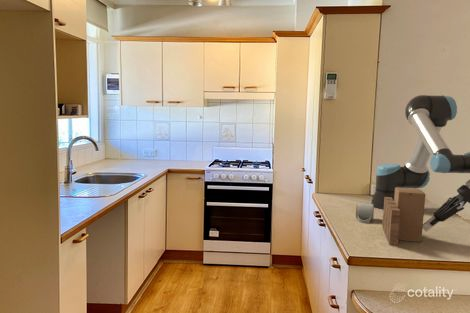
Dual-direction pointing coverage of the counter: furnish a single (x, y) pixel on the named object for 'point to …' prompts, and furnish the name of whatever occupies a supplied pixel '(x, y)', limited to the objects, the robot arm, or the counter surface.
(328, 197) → the counter surface
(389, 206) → the walnut board
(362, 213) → the ceramic mug
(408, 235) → the wooden block
